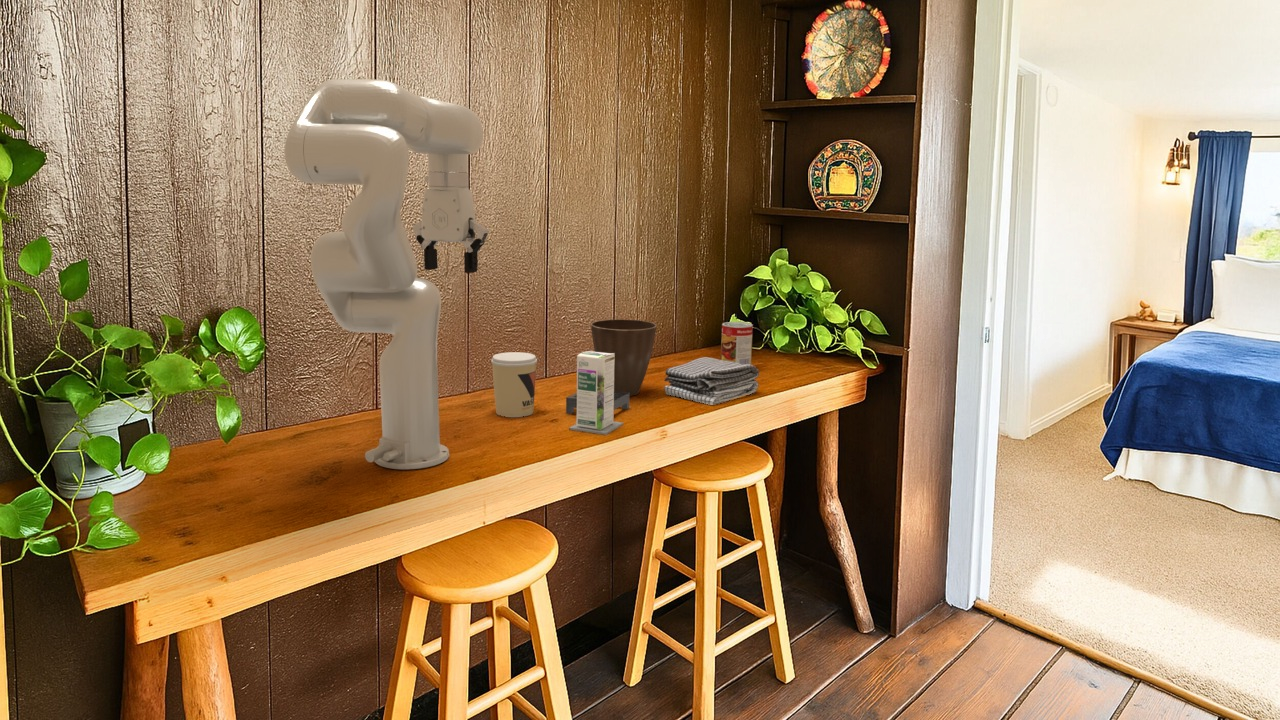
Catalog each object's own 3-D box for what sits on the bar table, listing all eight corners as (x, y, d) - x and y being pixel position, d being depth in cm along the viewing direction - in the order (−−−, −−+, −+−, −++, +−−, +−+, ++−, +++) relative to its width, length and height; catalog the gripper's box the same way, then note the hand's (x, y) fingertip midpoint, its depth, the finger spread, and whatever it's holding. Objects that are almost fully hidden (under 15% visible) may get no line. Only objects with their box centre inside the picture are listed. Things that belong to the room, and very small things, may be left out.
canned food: (735, 365, 231) (737, 320, 228) (756, 370, 225) (759, 325, 223) (714, 368, 226) (715, 323, 224) (735, 374, 220) (737, 327, 218)
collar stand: (609, 419, 177) (609, 403, 176) (566, 413, 181) (566, 397, 180) (629, 408, 186) (629, 392, 185) (587, 402, 190) (587, 387, 189)
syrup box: (575, 427, 170) (575, 354, 167) (589, 419, 175) (589, 349, 172) (601, 430, 167) (602, 357, 164) (614, 423, 173) (615, 352, 170)
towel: (760, 394, 201) (762, 361, 200) (710, 408, 188) (711, 373, 187) (710, 383, 212) (711, 351, 210) (659, 395, 199) (660, 361, 197)
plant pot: (599, 383, 208) (600, 317, 205) (660, 387, 205) (661, 320, 202) (582, 398, 194) (583, 327, 190) (648, 402, 191) (649, 331, 187)
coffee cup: (528, 420, 175) (528, 362, 173) (485, 416, 177) (484, 359, 175) (543, 408, 184) (542, 353, 182) (501, 405, 186) (500, 350, 184)
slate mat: (606, 434, 166) (606, 432, 166) (569, 429, 169) (569, 427, 169) (623, 424, 173) (623, 422, 173) (587, 419, 176) (587, 417, 176)
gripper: (400, 181, 167) (403, 269, 170) (473, 182, 159) (475, 275, 163) (425, 181, 173) (428, 266, 177) (497, 183, 166) (498, 272, 169)
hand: (450, 270), depth 170 cm, fingers open, 9 cm apart
